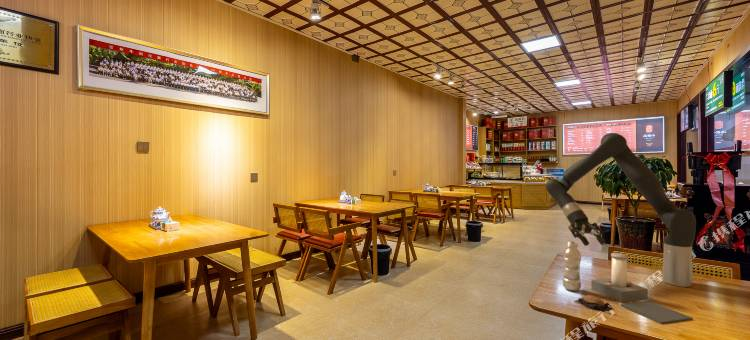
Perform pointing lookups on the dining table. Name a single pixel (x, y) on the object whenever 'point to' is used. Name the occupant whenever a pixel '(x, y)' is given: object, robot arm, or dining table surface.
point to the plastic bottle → (572, 267)
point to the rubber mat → (656, 312)
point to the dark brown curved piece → (594, 303)
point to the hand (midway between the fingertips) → (595, 244)
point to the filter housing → (620, 290)
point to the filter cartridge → (619, 270)
